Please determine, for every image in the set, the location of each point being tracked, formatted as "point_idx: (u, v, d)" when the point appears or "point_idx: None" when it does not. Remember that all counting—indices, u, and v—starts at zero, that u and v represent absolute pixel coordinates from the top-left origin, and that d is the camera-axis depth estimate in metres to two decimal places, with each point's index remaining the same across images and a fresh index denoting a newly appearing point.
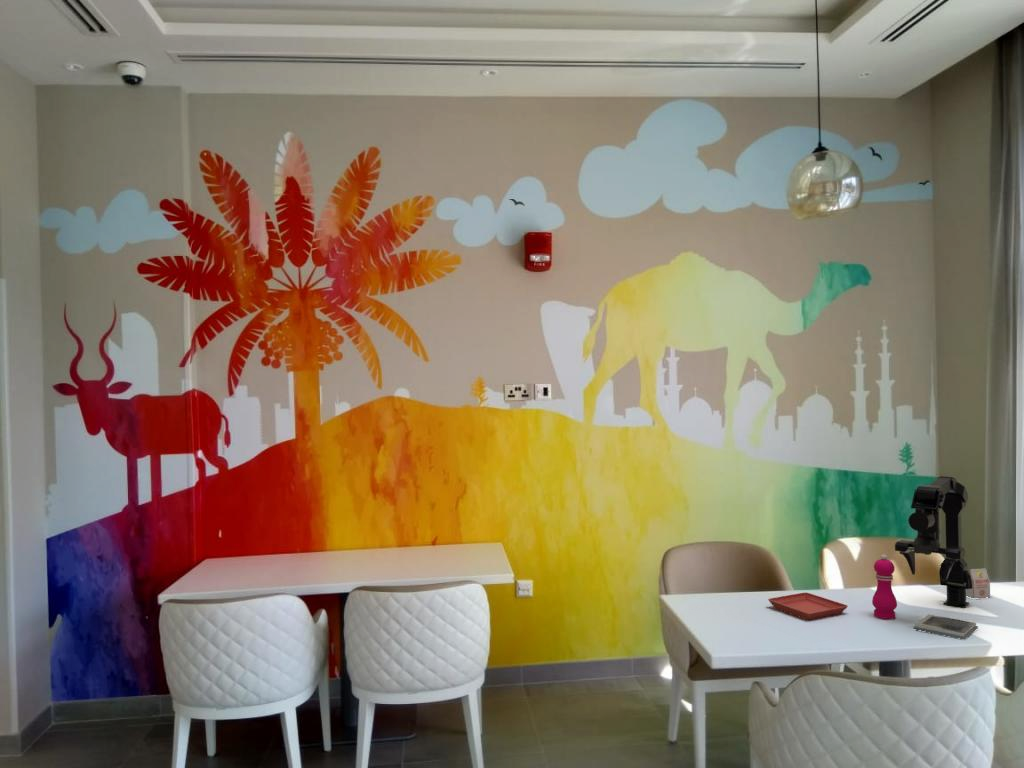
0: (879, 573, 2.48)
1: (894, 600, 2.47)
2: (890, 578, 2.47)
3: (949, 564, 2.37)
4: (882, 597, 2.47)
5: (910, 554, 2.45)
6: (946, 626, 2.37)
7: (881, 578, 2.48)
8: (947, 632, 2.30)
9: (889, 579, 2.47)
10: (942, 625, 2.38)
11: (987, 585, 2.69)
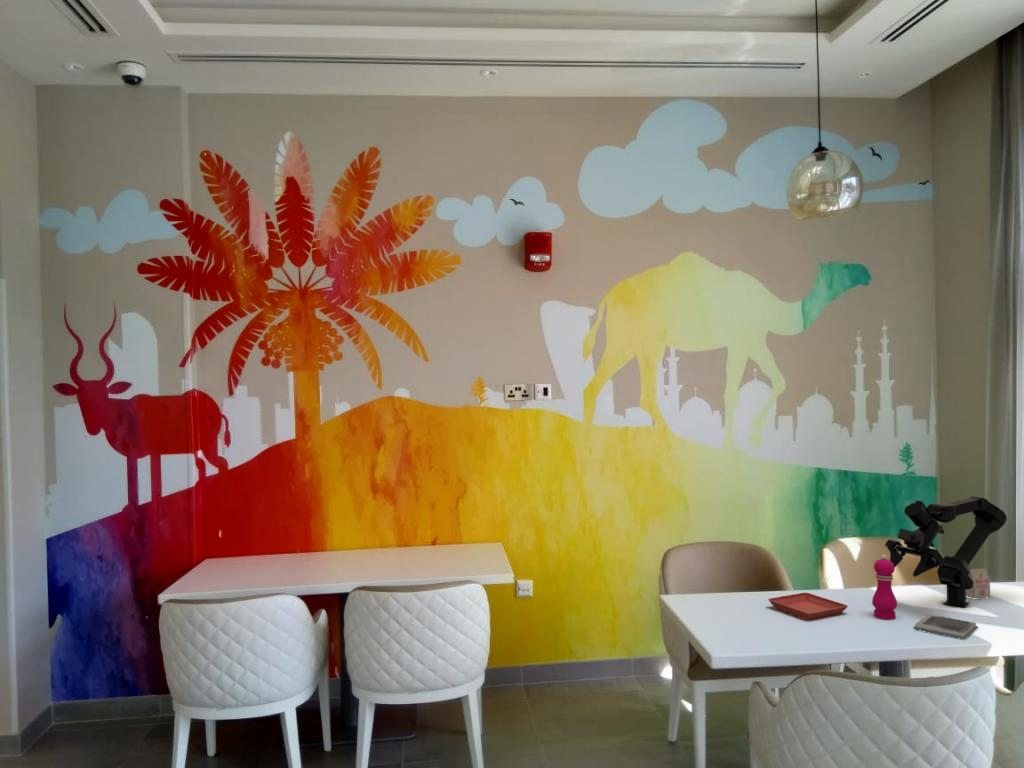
0: (879, 573, 2.48)
1: (894, 600, 2.47)
2: (890, 578, 2.47)
3: (923, 561, 2.48)
4: (882, 597, 2.47)
5: (896, 551, 2.59)
6: (946, 626, 2.37)
7: (881, 578, 2.48)
8: (947, 632, 2.30)
9: (889, 579, 2.47)
10: (942, 625, 2.38)
11: (987, 585, 2.69)
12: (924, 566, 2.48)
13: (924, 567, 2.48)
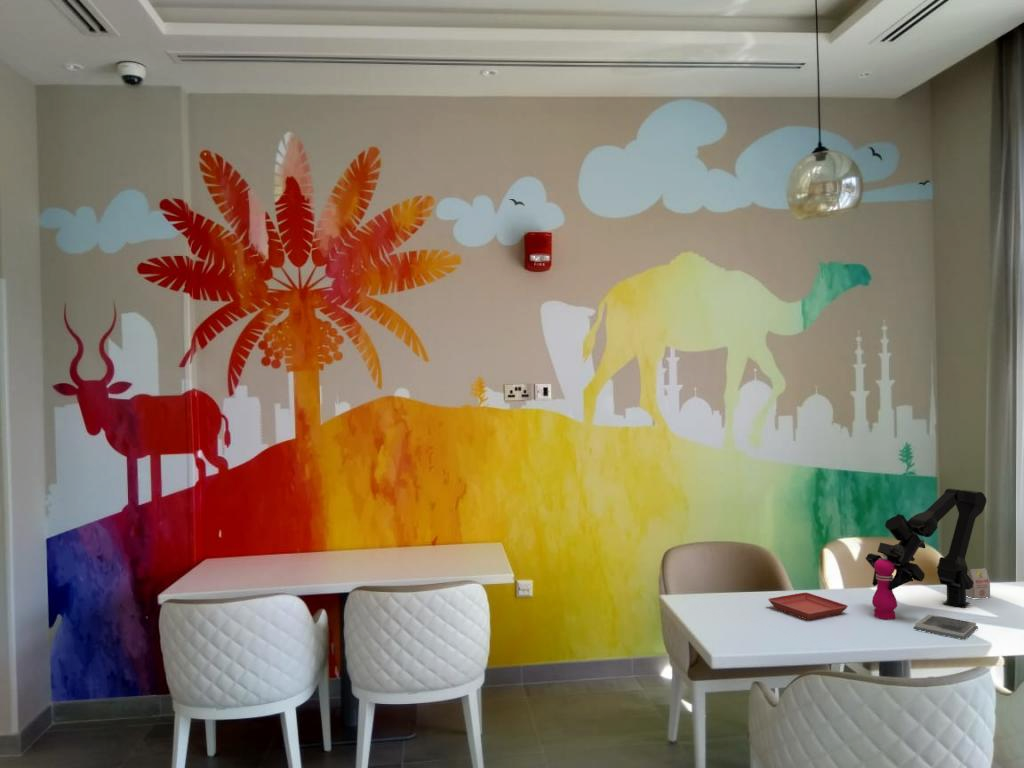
0: (879, 573, 2.48)
1: (894, 600, 2.47)
2: (890, 578, 2.47)
3: (898, 575, 2.46)
4: (883, 597, 2.47)
5: None
6: (946, 626, 2.37)
7: (881, 578, 2.48)
8: (947, 632, 2.30)
9: (889, 579, 2.47)
10: (942, 625, 2.38)
11: (987, 585, 2.69)
12: (899, 580, 2.47)
13: (899, 581, 2.47)
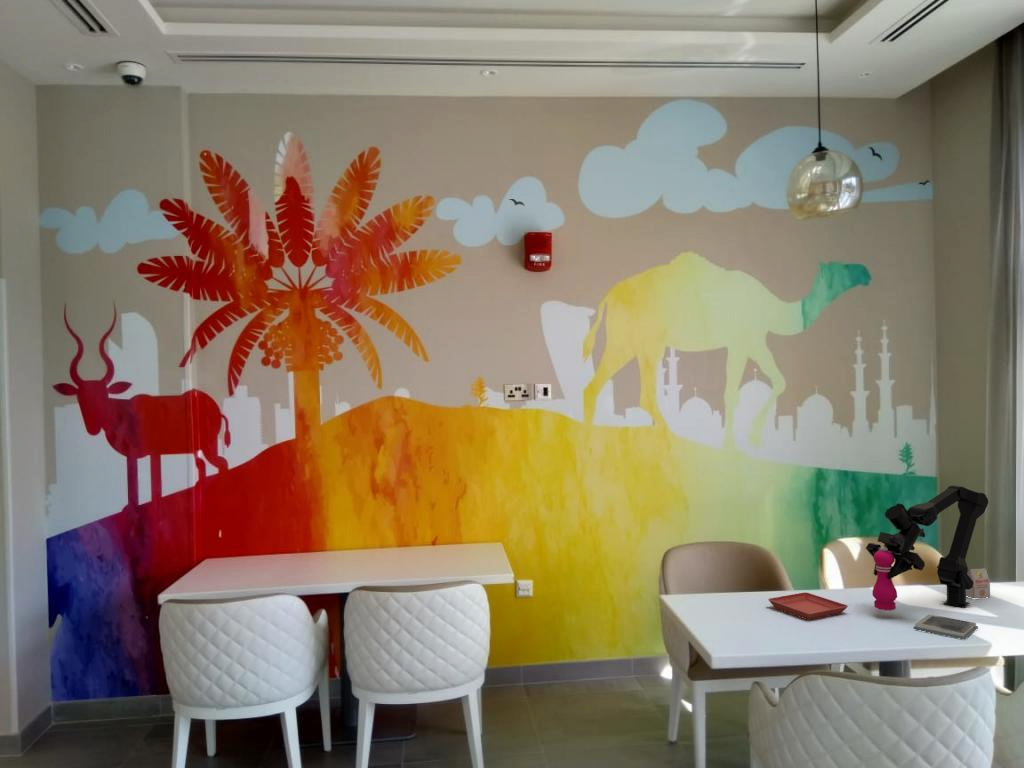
0: (879, 564, 2.48)
1: (894, 591, 2.47)
2: (890, 569, 2.47)
3: (897, 563, 2.46)
4: (883, 589, 2.47)
5: None
6: (946, 626, 2.37)
7: (881, 569, 2.48)
8: (947, 632, 2.30)
9: (889, 570, 2.47)
10: (942, 625, 2.38)
11: (987, 585, 2.69)
12: (899, 568, 2.47)
13: (898, 569, 2.47)
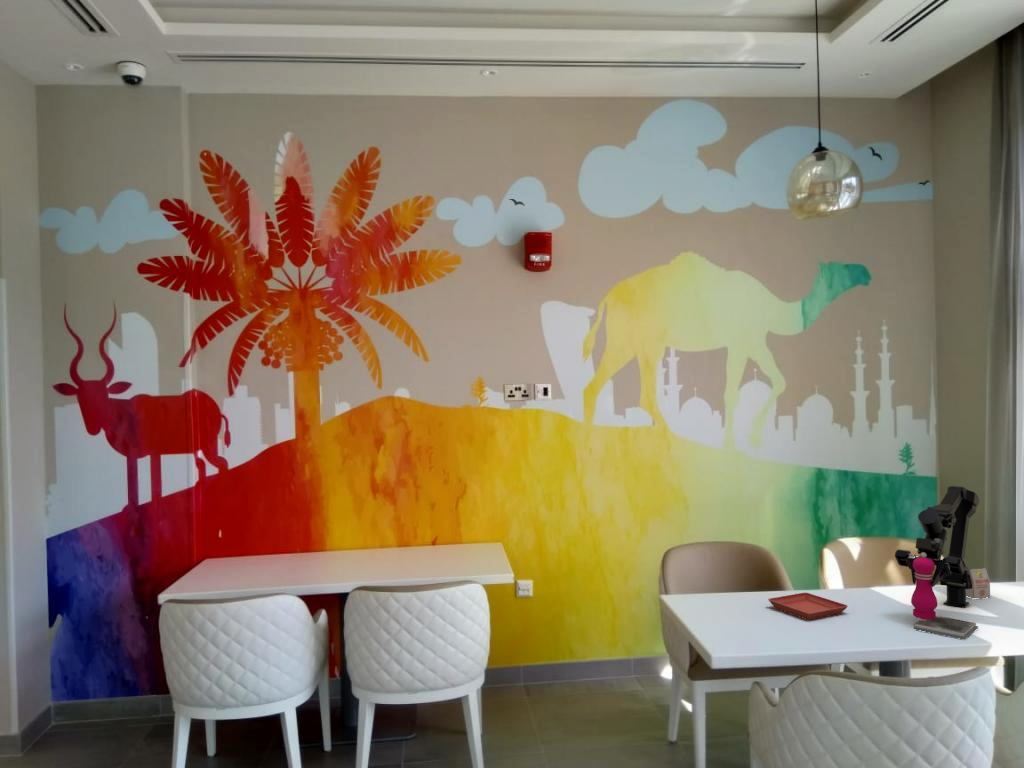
0: (922, 572, 2.38)
1: (936, 598, 2.38)
2: (932, 576, 2.38)
3: (939, 570, 2.38)
4: (927, 597, 2.37)
5: None
6: (946, 626, 2.37)
7: (924, 577, 2.38)
8: (947, 632, 2.30)
9: (931, 577, 2.38)
10: (942, 625, 2.38)
11: (987, 585, 2.69)
12: (939, 575, 2.39)
13: (939, 576, 2.39)
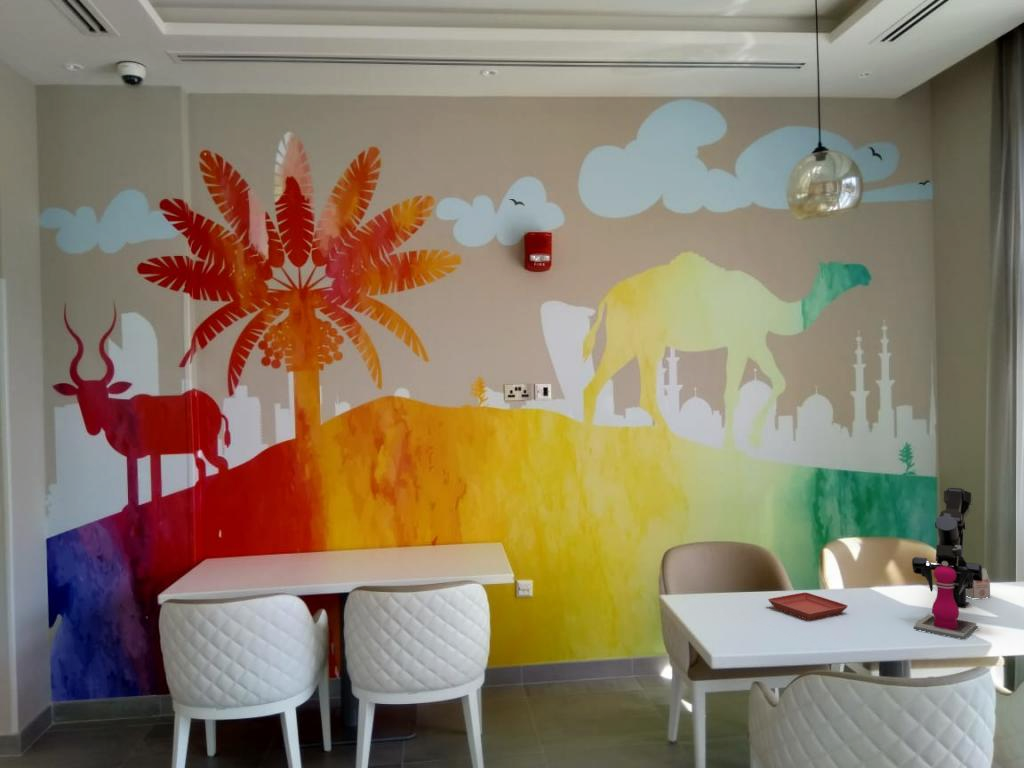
0: (945, 581, 2.35)
1: (957, 607, 2.35)
2: None
3: (964, 577, 2.34)
4: (950, 607, 2.34)
5: (930, 570, 2.41)
6: None
7: (947, 586, 2.34)
8: (947, 632, 2.30)
9: (953, 586, 2.35)
10: None
11: (987, 585, 2.69)
12: (963, 582, 2.35)
13: (964, 583, 2.35)
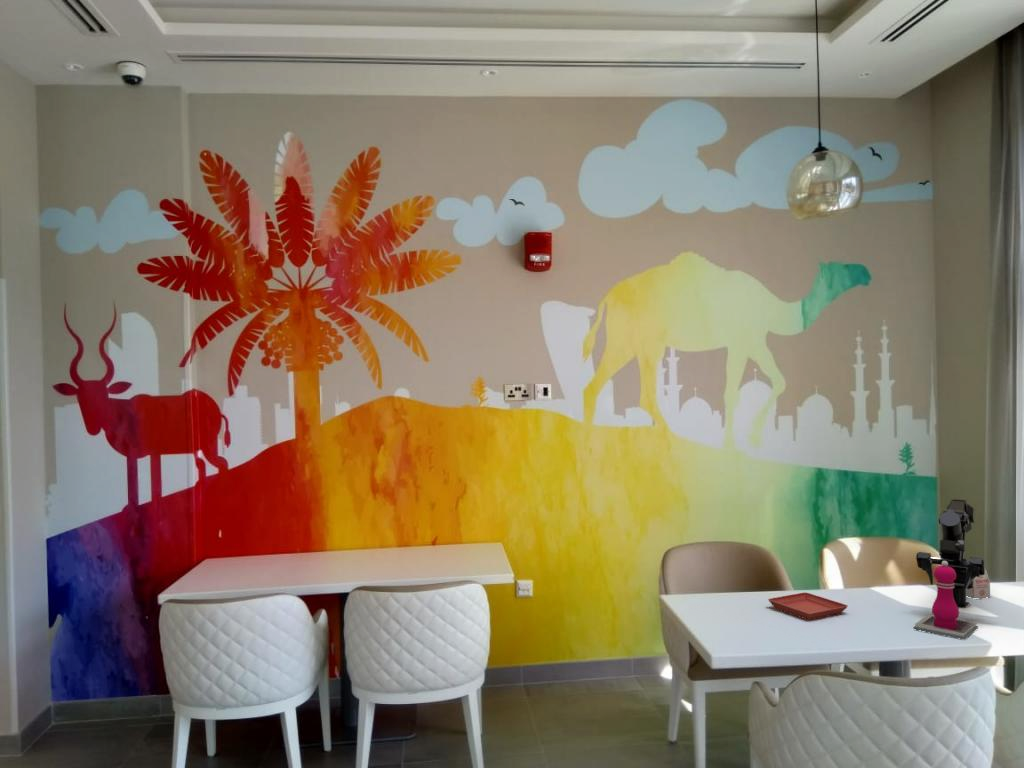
0: (945, 581, 2.35)
1: (957, 607, 2.35)
2: None
3: (971, 572, 2.41)
4: (950, 607, 2.34)
5: (931, 564, 2.48)
6: None
7: (947, 586, 2.34)
8: (947, 632, 2.30)
9: (953, 586, 2.35)
10: None
11: (987, 585, 2.69)
12: (970, 577, 2.42)
13: (970, 578, 2.42)
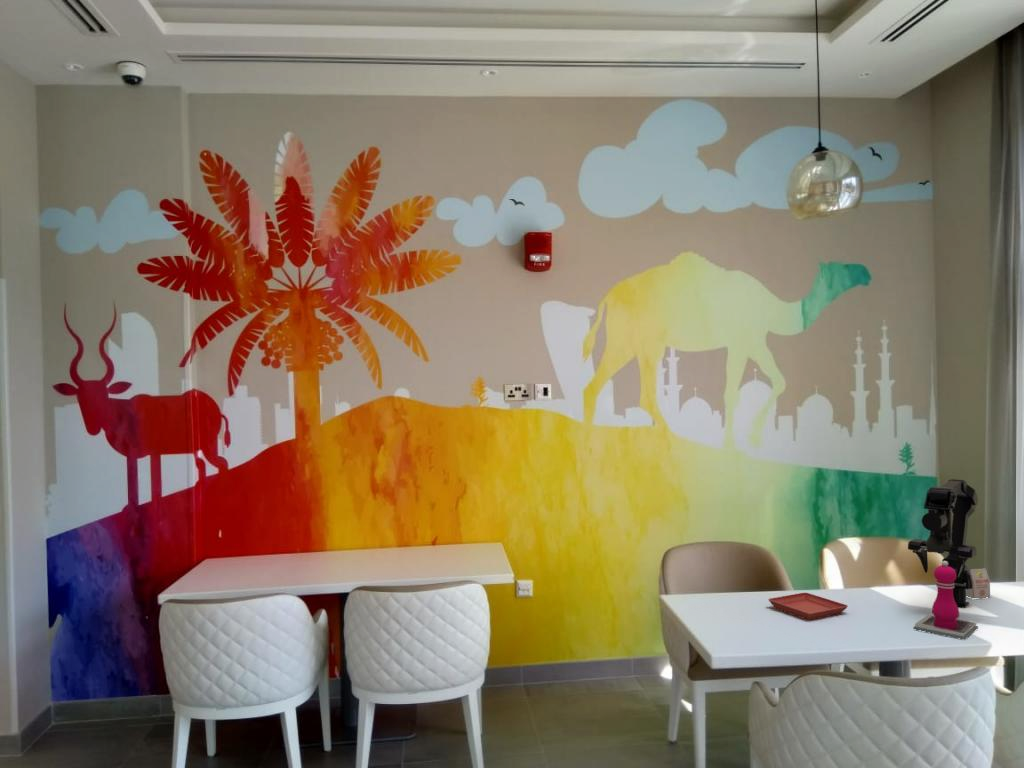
0: (945, 581, 2.35)
1: (957, 607, 2.35)
2: None
3: (961, 562, 2.45)
4: (950, 607, 2.34)
5: (923, 553, 2.53)
6: None
7: (947, 586, 2.34)
8: (947, 632, 2.30)
9: (954, 586, 2.35)
10: None
11: (987, 585, 2.69)
12: (962, 563, 2.47)
13: (962, 564, 2.47)
